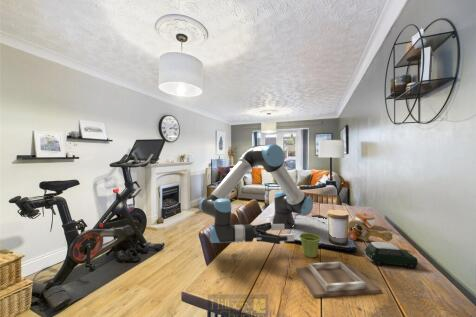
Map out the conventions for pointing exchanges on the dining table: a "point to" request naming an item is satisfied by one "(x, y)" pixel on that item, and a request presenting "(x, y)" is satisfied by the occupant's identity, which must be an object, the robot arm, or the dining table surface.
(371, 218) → the lidded jar
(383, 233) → the toy helicopter
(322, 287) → the jig plate
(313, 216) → the smart home device
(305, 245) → the plant pot
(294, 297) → the dining table surface
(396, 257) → the miniature car
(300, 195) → the robot arm
